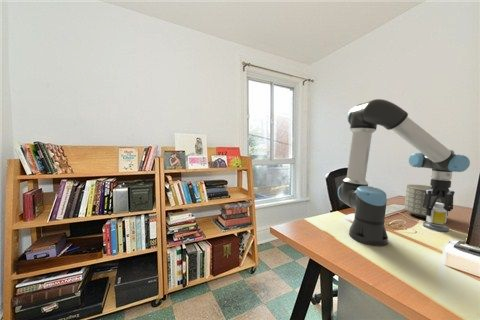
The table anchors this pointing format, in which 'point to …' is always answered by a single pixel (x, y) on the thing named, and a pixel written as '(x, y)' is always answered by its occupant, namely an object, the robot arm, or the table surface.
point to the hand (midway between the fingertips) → (435, 221)
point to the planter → (416, 199)
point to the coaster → (436, 227)
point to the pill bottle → (438, 215)
